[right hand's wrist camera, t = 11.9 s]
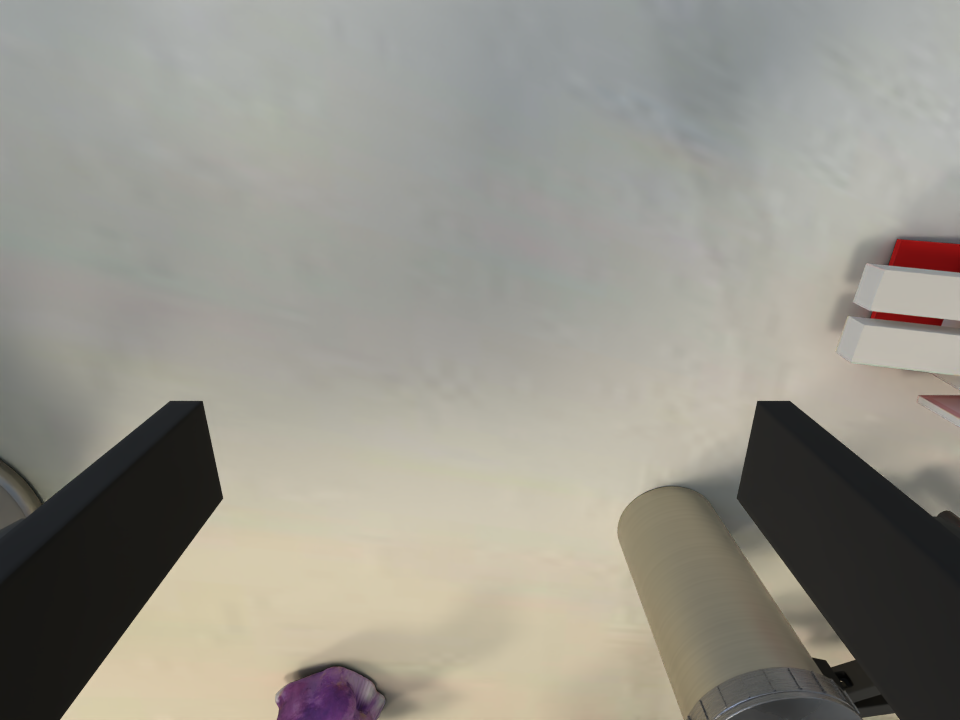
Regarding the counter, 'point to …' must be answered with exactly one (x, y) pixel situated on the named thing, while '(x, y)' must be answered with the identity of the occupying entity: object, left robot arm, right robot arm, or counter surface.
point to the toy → (911, 318)
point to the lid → (776, 697)
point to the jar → (702, 595)
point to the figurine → (330, 697)
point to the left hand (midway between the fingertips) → (800, 603)
